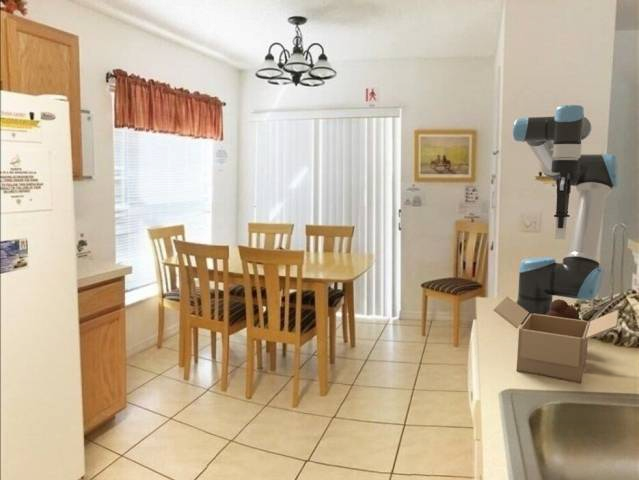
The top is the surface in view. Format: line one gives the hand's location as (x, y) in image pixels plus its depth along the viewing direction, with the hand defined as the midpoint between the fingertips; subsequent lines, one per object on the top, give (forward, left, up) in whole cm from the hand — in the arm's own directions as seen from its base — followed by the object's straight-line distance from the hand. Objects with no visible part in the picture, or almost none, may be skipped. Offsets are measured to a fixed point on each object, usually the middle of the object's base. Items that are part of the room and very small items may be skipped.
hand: (560, 238), depth 162 cm
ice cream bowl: (-3, +2, -35) cm, 35 cm away
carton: (+16, +2, -34) cm, 38 cm away
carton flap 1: (+16, -10, -20) cm, 27 cm away
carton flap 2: (+16, +14, -20) cm, 29 cm away
